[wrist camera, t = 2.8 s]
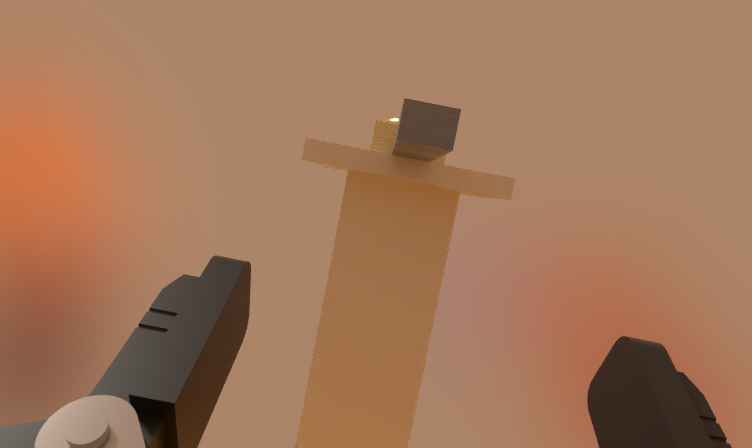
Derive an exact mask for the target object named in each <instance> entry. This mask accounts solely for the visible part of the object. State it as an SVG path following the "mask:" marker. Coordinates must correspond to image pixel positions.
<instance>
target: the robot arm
mask: <svg viewBox="0 0 752 448" xmlns="http://www.w3.org/2000/svg"><path fill="white" fill-rule="evenodd" d="M250 281H251V265H250V263H249V262H247V261H242V260H237V259H231V258H226V257H221V256H213V257H212V258H211V260H210V262H209V263H208V265H207V267H206V268H205V270H204V271H203V273H202V275H201V276H200V277H195V276H190V275H185V274H184V275H183V276H181V277H179V278H178V279H176V280H175V281H173V282H172V283H170V284H169V285H168V286H166V287H165V288H163V289H162V291H161V292H160V294H159V295H158V296H157V298H156V300H155V301H154V302H153V304H152V305H151V307H150V310H149V312H146V314H145V315H144V317H143V318H142V320H141V321H140V323H139V326H138V328H136V329H135V330H134V332H133V333H132V334H131V336H130V337H129V339H128V340H127V342H126V343H125V345H124V346H123V348H122V349H121V350H120V352H119V353H118V355H117V356H116V358H115V359H114V361H113V362H112V364H111V365H110V367H109V368H108V369H107V371H106V372H105V374H104V375H103V377H102V378H101V380H100V381H99V383H98V384H97V386H96V387H95V388H94V389H93V391H92V392H91V393H90V394H89V395H88V396H87V397H85V398H81V399H79V400H76V401H73V402H71V403H69V404H67V405H65V406H64V407H63V408H61V409H59V410H58V411H57V412H56V413H54V414H53V415H52V416H51V417H50V418H49V419H47V420H43V421H40V422H34V423H26V424H17V425H7V426H0V448H197V447H198V445H199V442H200V440H201V438H202V435H203V433H204V430H205V428H206V426H207V423H208V421H209V419H210V416H211V414H212V412H213V410H214V407H215V405H216V403H217V400H218V398H219V396H220V393H221V391H222V389H223V386H224V384H225V381H226V379H227V377H228V375H229V372H230V370H231V368H232V365H233V363H234V361H235V358H236V356H237V354H238V351H239V349H240V347H241V344H242V342H243V339H244V336H245V333H246V329H247V324H248V319H249V307H250ZM587 401H588V410H589V414H590V417H591V421H592V424H593V427H594V431H595V434H596V437H597V441H598V444H599V448H731V446H730V444H727V443H726V436H725V434H724V433H723V431H722V429H721V427H720V425H719V424H717V423H716V417H715V416H714V414H713V412H712V410H711V408H710V406H709V404H708V402H707V400H706V399H705V397H704V395H703V394H702V393H701V392H700V391H699V389H698V388H697V387H696V386H695V385H694V384H693V383H692V382H691V381H690V380H689V379H688V378H687V376H686V375H685V374H684V373H682V372H677V371H676V369H675V367H674V365H673V363H672V361H671V359H670V357H669V355H668V353H667V351H666V349H665V347H664V346H663V345H661V344H660V343H656V342H651V341H646V340H641V339H636V338H630V337H625V336H623V337H620V338H619V339H618V340H617V341H616V342H615V344H614V346H613V347H612V349H611V350H610V352H609V353H608V355H607V357H606V358H605V360H604V362H603V363H602V365H601V367H600V368H599V370H598V371H597V373H596V374H595V376H594V378H593V379H592V381H591V383H590V386H589V390H588V400H587Z"/></svg>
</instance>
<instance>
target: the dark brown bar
mask: <svg viewBox="0 0 752 448" xmlns="http://www.w3.org/2000/svg"><path fill="white" fill-rule="evenodd" d="M460 112H461V109H456V108H451V107H446V106H441V105H436V104H431V103H426V102H421V101H415V100H410V99H404V103H403V106H402V110H401V114H400V118H385V121H384V122H382V121H377V120H376V123H375V129H374V134H373V139H372V144H371V149H370V151H375V152H380V153H385V154H390V155H396V156H401V157H406V158H411V159H416V160H421V161H426V162H431V163H436V164H442V165H444V161H445V155H446V154H447V153H449V152H451V151H452V150H453V145H454V141H455V136H456V131H457V126H458V121H459V116H460Z"/></svg>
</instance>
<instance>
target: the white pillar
mask: <svg viewBox="0 0 752 448" xmlns="http://www.w3.org/2000/svg"><path fill="white" fill-rule="evenodd" d="M302 159H303V160H306V161H309V162H311V163H314V164H317V165H320V166H323V167H325V168H331V169H336V170H341V171H346V172H348V174H347V179H346V185H345V190H344V195H343V201H342V205H341V210H340V216H339V221H338V226H337V231H336V237H335V242H334V247H333V253H332V258H331V264H330V268H329V274H328V279H327V284H326V289H325V295H324V300H323V306H322V311H321V316H320V321H319V326H318V332H317V337H316V342H315V347H314V353H313V358H312V363H311V368H310V374H309V379H308V384H307V389H306V395H305V400H304V405H303V411H302V416H301V421H300V427H299V432H298V437H297V442H296V447H295V448H408V443H409V438H410V434H411V429H412V424H413V419H414V414H415V409H416V405H417V399H418V395H419V390H420V385H421V380H422V375H423V370H424V366H425V360H426V356H427V351H428V346H429V341H430V336H431V332H432V327H433V322H434V317H435V312H436V308H437V303H438V298H439V293H440V288H441V283H442V279H443V274H444V269H445V264H446V259H447V254H448V250H449V245H450V239H451V235H452V230H453V225H454V220H455V215H456V211H457V206H458V200H459V196H460V194H464V195H469V196H475V197H486V198H496V199H506V200H507V199H508V200H511V197H512V193H513V188H514V183H515V179H513V178H508V177H503V176H498V175H493V174H488V173H482V172H477V171H472V170H467V169H461V168H457V167H452V166H446V165H442V164H436V163H431V162H426V161H421V160H416V159H411V158H406V157H401V156H396V155H390V154H385V153H380V152H375V151H370V150H365V149H360V148H355V147H349V146H344V145H339V144H334V143H329V142H324V141H319V140H314V139H308V138H306V140H305V145H304V150H303V156H302Z"/></svg>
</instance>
